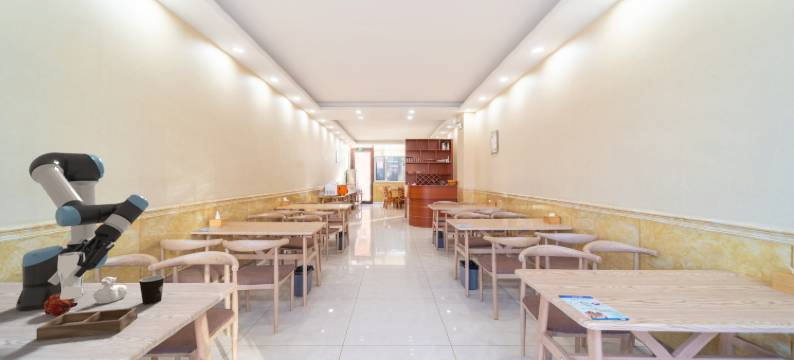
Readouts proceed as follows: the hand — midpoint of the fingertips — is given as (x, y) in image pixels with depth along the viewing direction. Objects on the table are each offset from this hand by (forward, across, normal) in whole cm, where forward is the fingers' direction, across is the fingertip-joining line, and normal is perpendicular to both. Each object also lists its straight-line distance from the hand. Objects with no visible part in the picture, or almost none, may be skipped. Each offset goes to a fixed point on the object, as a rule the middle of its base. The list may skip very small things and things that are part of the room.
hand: (59, 284), depth 112 cm
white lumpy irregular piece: (-7, +19, -32) cm, 37 cm away
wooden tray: (+8, -5, -17) cm, 19 cm away
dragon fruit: (+4, +22, -21) cm, 31 cm away
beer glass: (+2, 0, -6) cm, 7 cm away
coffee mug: (-11, 0, -36) cm, 37 cm away
